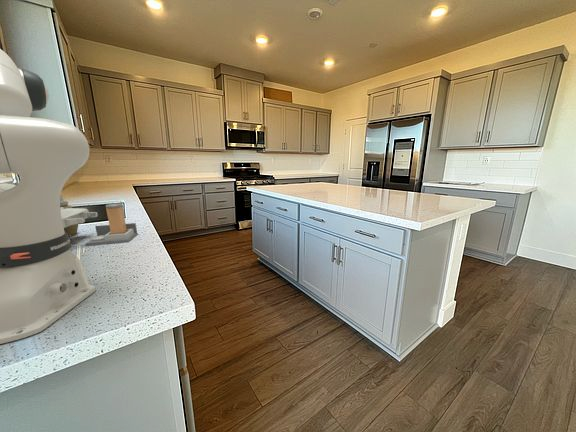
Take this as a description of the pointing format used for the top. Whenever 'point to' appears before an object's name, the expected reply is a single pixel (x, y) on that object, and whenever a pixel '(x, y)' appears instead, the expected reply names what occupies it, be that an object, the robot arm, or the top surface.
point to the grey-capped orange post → (116, 218)
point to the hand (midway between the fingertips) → (90, 217)
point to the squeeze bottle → (72, 228)
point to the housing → (112, 235)
